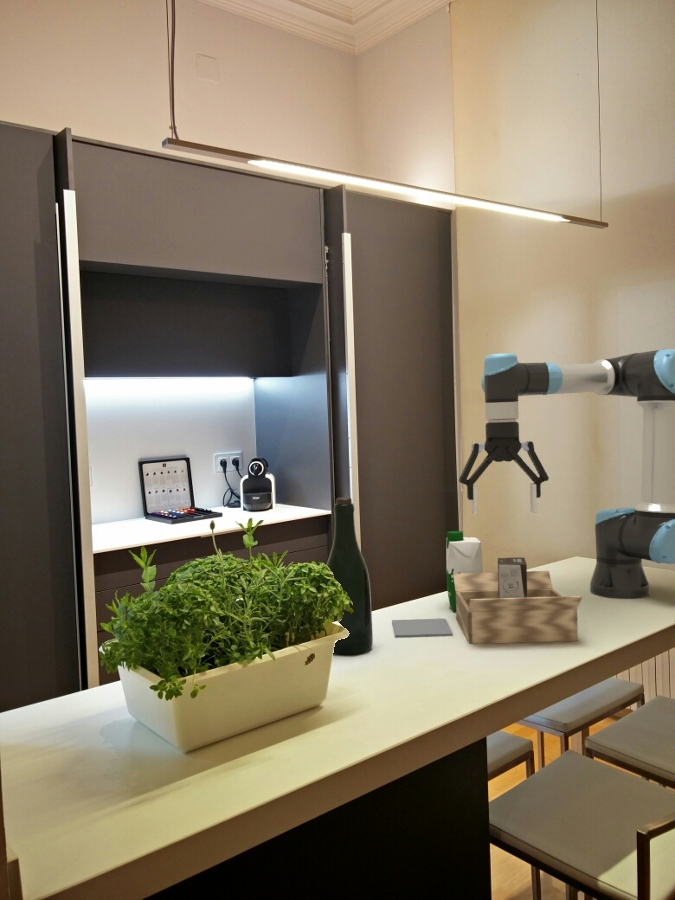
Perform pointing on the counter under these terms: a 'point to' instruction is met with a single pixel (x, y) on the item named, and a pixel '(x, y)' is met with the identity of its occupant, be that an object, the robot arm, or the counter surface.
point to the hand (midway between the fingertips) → (504, 513)
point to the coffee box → (512, 577)
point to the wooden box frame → (514, 610)
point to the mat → (421, 628)
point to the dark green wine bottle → (351, 581)
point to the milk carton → (461, 560)
